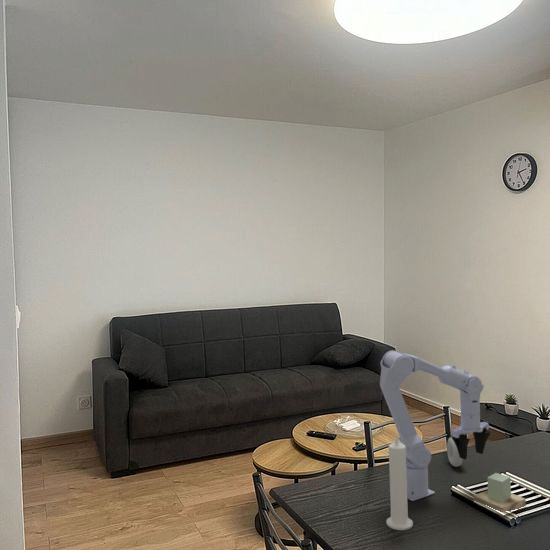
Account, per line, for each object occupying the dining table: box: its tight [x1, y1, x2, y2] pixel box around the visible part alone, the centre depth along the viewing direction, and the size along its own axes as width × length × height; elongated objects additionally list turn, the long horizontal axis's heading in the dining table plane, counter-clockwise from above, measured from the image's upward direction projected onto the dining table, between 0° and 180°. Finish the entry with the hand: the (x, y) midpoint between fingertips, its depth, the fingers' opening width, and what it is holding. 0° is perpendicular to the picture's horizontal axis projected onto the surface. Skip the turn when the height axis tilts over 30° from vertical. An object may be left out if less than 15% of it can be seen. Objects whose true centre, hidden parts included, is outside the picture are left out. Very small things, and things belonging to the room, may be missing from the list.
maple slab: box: [472, 489, 527, 512], centre depth 165 cm, size 10×10×3 cm
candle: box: [386, 433, 414, 531], centre depth 155 cm, size 7×7×25 cm
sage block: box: [487, 472, 512, 503], centre depth 164 cm, size 4×4×6 cm
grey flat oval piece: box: [446, 436, 464, 468], centre depth 195 cm, size 10×4×10 cm, turn 179°
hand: (471, 455), depth 179 cm, fingers open, 7 cm apart
